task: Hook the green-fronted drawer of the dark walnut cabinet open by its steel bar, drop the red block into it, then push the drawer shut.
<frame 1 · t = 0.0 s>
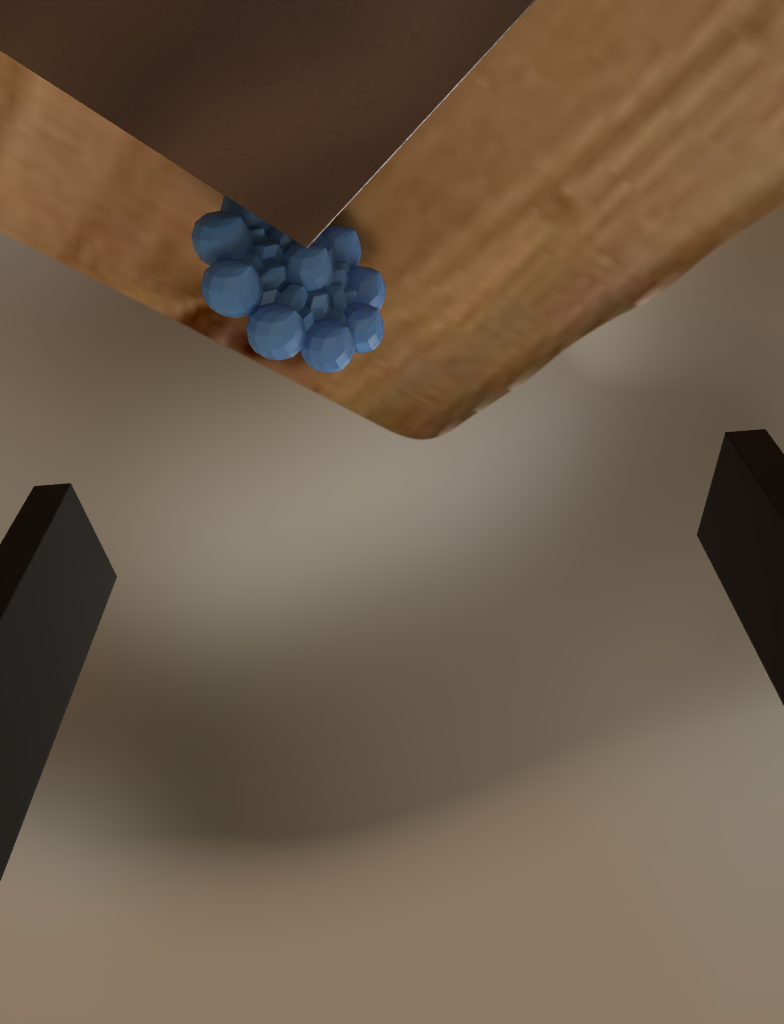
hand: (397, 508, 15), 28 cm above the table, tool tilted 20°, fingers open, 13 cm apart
grapes: (291, 213, 40), on the table
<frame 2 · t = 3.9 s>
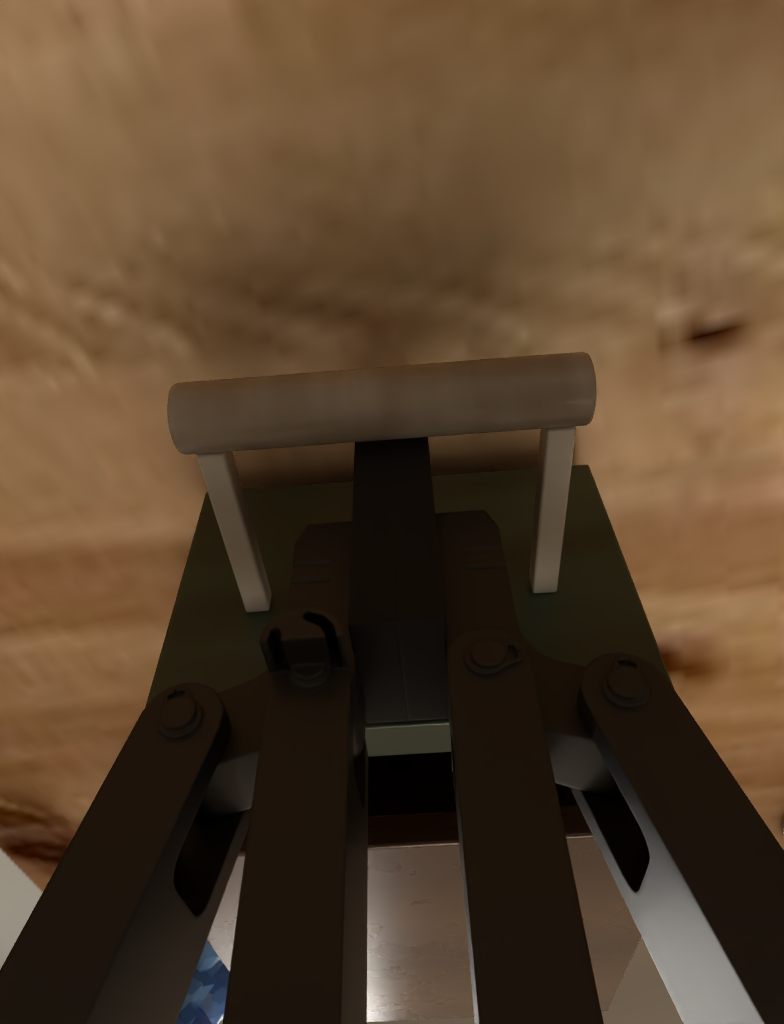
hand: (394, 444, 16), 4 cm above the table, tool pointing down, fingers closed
grapes: (192, 800, 36), on the table
cabinet: (413, 672, 29), on the table
drawer: (408, 667, 20), point 5 cm above the table, slide at 2.4 cm, touching gripper
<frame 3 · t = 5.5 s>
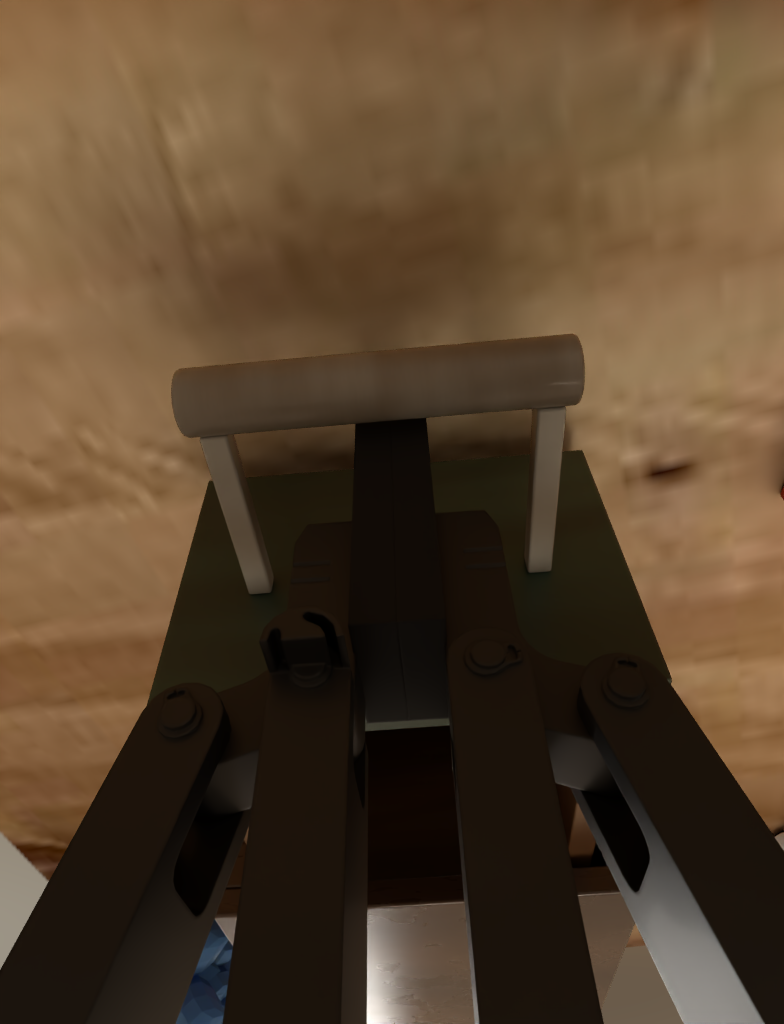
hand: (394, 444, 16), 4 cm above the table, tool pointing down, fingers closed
grapes: (223, 837, 40), on the table
cabinet: (421, 730, 33), on the table
drawer: (407, 649, 20), point 5 cm above the table, slide at 7.7 cm
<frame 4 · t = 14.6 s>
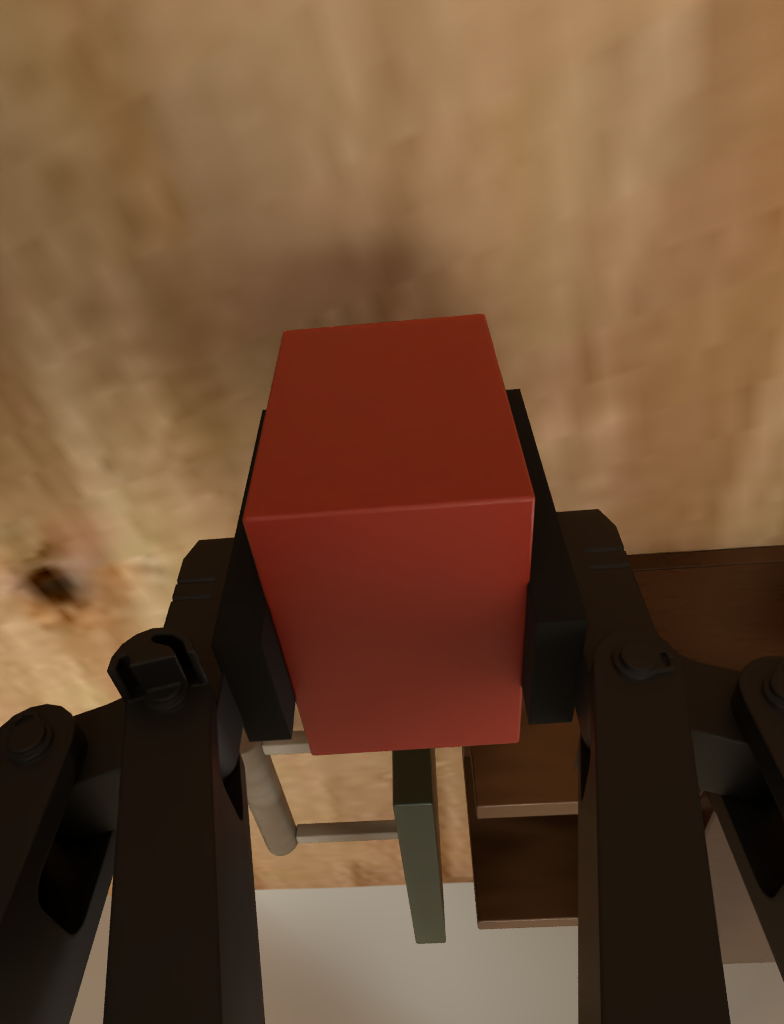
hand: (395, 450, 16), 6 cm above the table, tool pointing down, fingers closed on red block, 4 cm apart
cabinet: (771, 648, 31), on the table
red block: (395, 447, 17), point 6 cm above the table, touching gripper
drawer: (496, 770, 27), point 5 cm above the table, slide at 7.7 cm
when the fingers open (7 cm above the table, at t = 18.9 s): red block drops 4 cm, resting on drawer.
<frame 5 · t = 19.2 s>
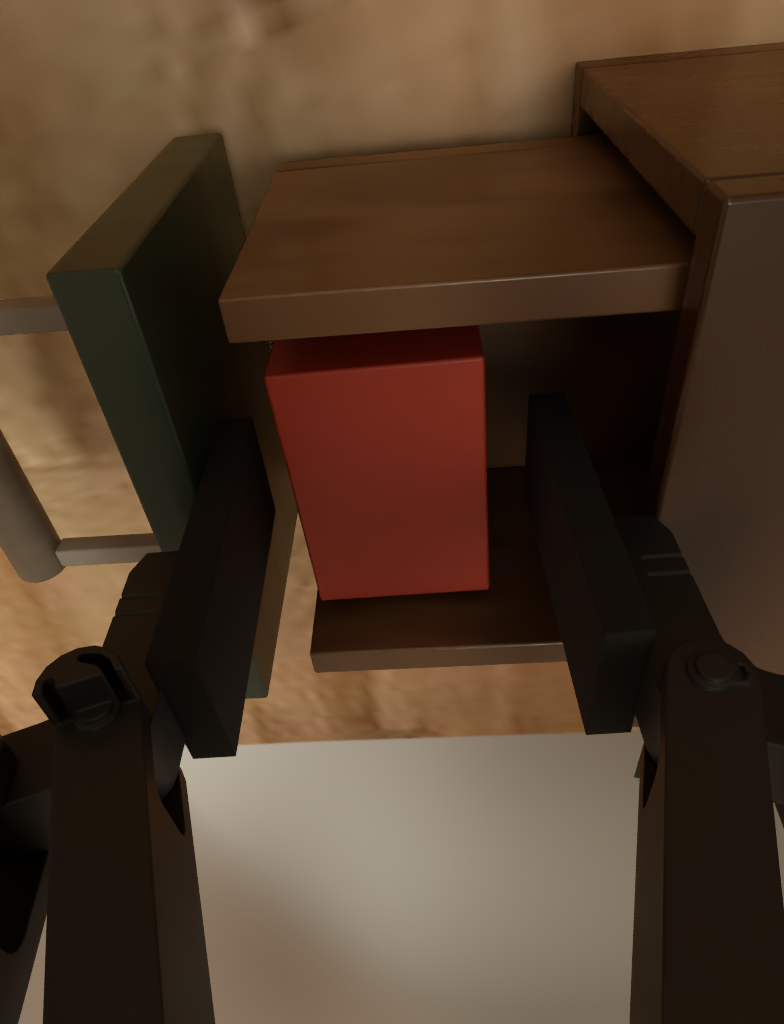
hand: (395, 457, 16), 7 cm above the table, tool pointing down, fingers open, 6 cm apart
red block: (392, 360, 20), point 2 cm above the table, touching drawer
drawer: (342, 418, 17), point 5 cm above the table, slide at 8.6 cm, touching red block, gripper
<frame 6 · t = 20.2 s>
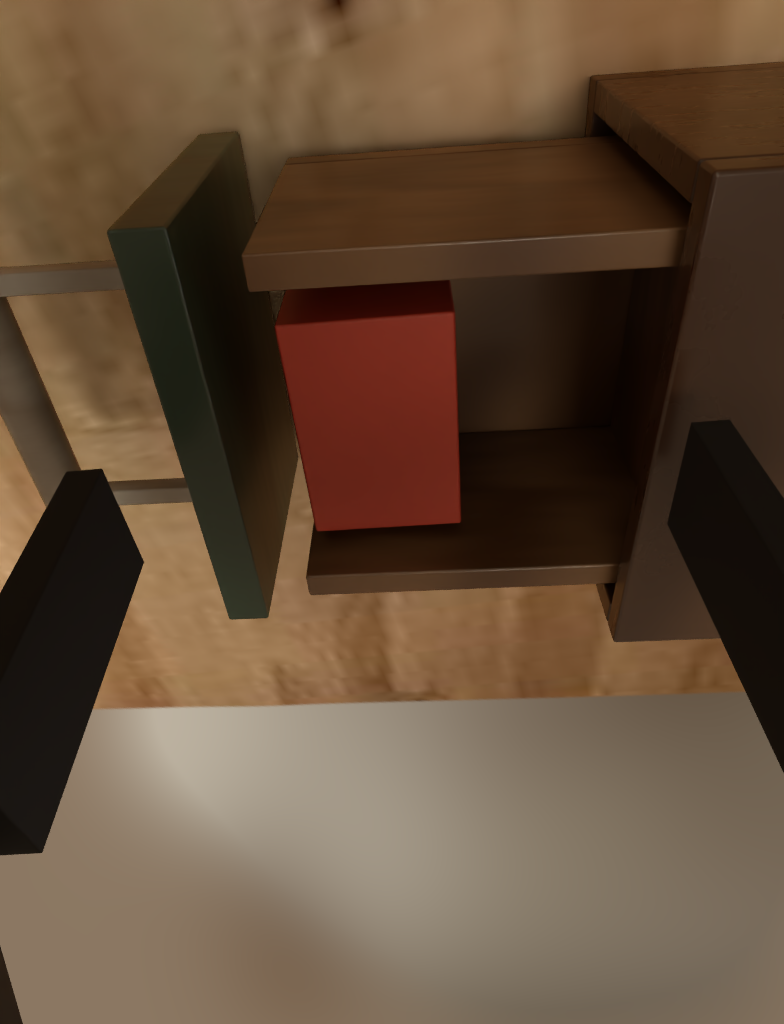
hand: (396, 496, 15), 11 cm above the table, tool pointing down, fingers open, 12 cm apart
red block: (381, 332, 23), point 2 cm above the table, touching drawer
drawer: (337, 376, 20), point 5 cm above the table, slide at 10.0 cm, touching red block
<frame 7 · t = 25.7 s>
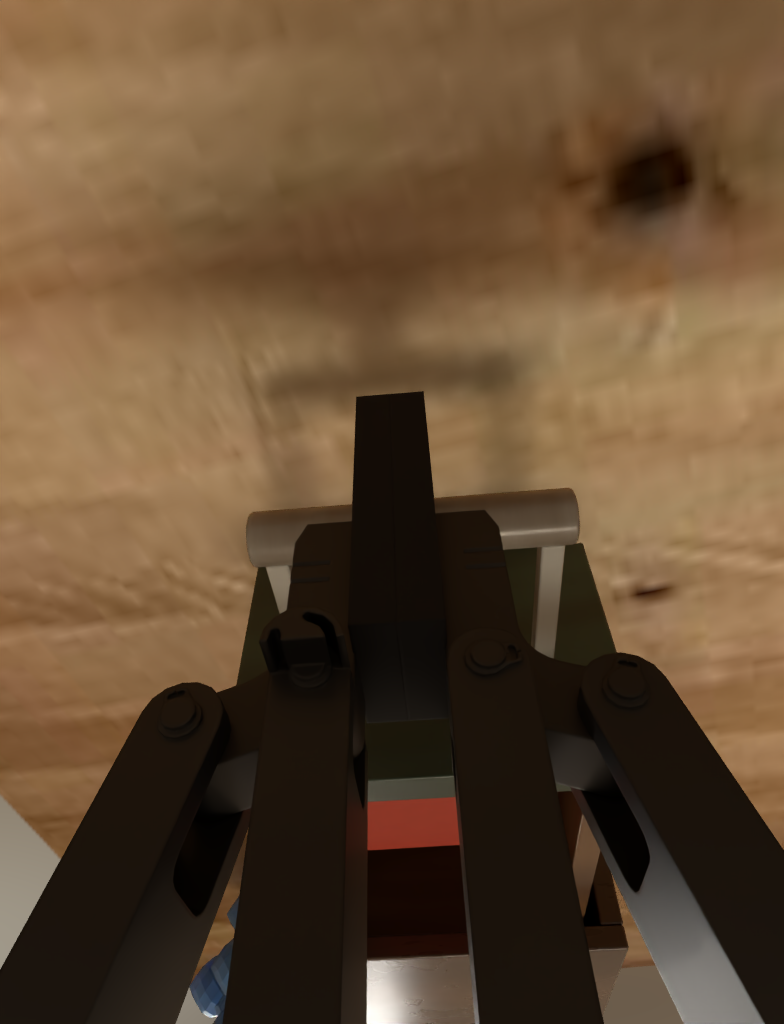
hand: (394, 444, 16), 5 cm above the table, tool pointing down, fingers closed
grapes: (260, 870, 44), on the table
cabinet: (440, 786, 37), on the table
red block: (423, 664, 27), point 2 cm above the table, touching drawer
drawer: (430, 716, 24), point 5 cm above the table, slide at 9.7 cm, touching red block
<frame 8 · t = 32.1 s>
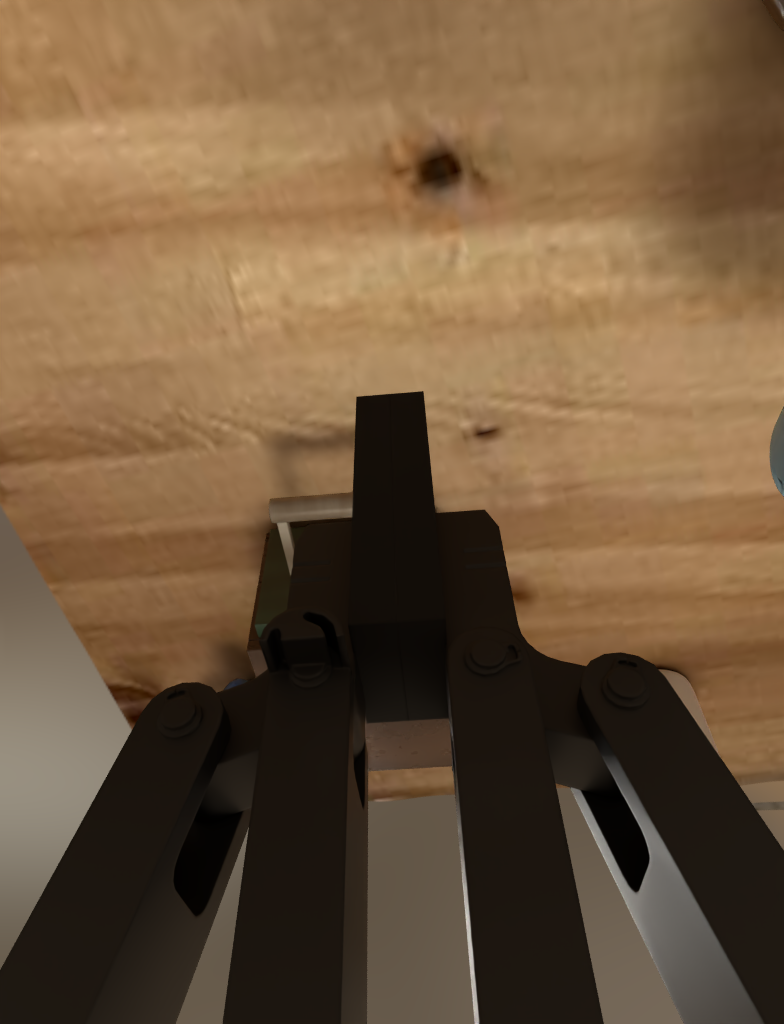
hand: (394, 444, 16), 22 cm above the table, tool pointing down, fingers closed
pill bottle: (643, 691, 62), on the table
cabinet: (367, 597, 53), on the table
drawer: (359, 605, 46), point 5 cm above the table, slide at 0.0 cm, touching cabinet, red block
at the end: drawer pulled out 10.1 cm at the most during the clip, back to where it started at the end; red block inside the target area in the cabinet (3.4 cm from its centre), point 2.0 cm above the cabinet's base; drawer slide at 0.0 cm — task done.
